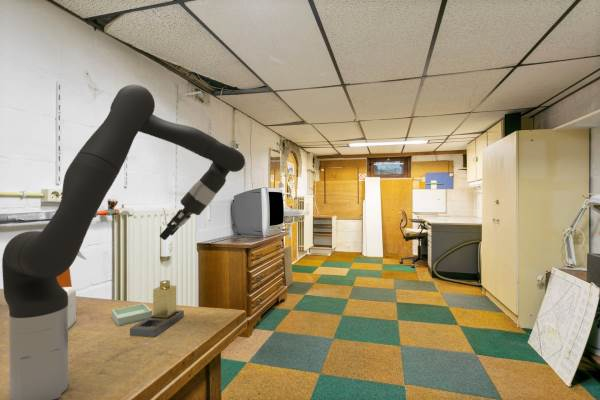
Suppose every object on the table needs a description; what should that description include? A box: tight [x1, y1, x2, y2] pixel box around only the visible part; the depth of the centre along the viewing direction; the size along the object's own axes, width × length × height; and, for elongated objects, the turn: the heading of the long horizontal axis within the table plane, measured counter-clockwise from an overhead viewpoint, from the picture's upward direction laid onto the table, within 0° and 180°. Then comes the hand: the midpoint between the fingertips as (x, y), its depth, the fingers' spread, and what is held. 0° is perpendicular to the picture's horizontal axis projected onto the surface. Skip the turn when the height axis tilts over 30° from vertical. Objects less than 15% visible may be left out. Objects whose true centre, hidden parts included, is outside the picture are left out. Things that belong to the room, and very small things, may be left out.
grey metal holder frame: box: [129, 309, 185, 338], centre depth 98 cm, size 8×16×2 cm, turn 171°
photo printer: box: [63, 286, 77, 329], centre depth 96 cm, size 10×4×12 cm, turn 17°
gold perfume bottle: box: [152, 279, 177, 319], centre depth 101 cm, size 5×5×13 cm
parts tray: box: [111, 303, 153, 327], centre depth 104 cm, size 10×10×2 cm
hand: (165, 236), depth 100 cm, fingers open, 8 cm apart
